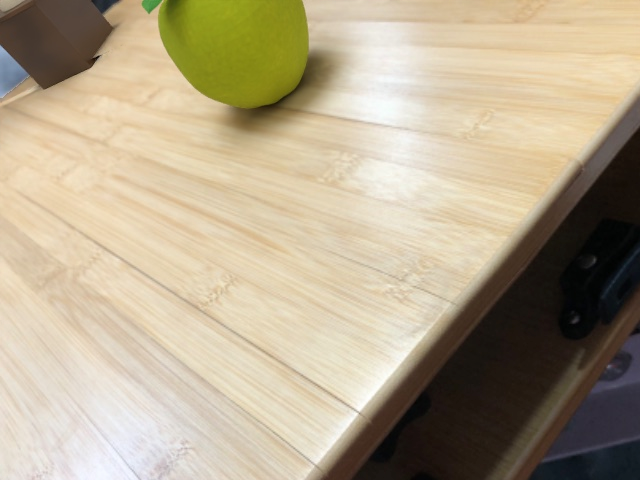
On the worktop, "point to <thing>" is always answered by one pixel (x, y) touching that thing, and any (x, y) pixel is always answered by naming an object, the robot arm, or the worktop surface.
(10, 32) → the walnut box
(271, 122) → the worktop surface
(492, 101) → the worktop surface
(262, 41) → the fruit
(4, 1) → the towel roll
